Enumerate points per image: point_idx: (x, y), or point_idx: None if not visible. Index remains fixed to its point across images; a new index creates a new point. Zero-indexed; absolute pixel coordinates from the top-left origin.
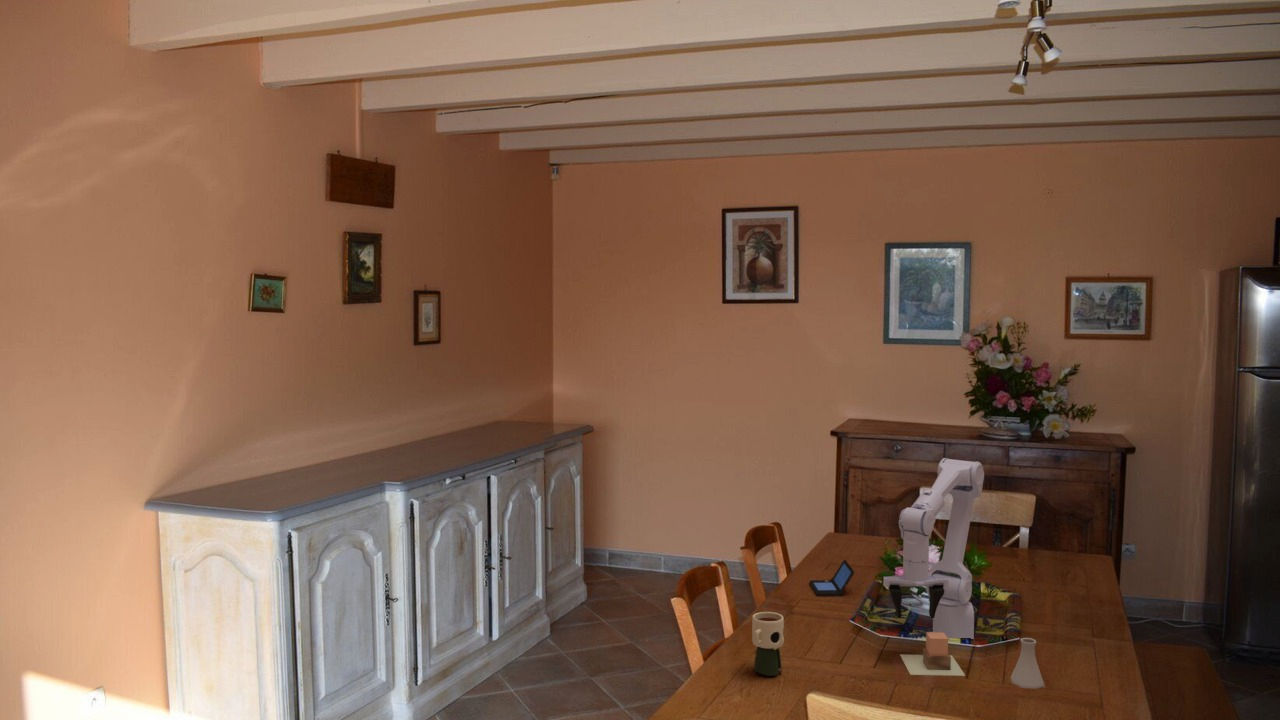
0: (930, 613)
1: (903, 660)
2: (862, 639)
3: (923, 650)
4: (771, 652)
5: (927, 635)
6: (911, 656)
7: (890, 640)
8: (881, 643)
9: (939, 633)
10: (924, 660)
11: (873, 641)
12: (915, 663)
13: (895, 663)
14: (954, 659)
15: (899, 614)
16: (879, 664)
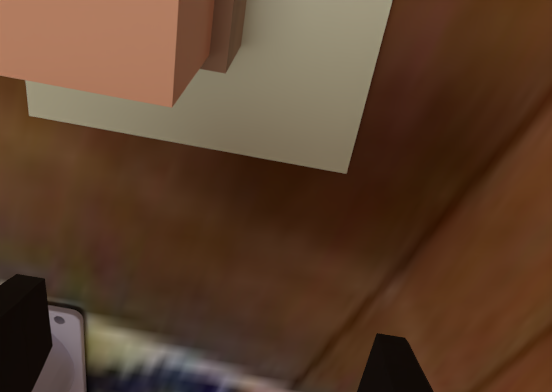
0: (32, 338)
1: (368, 77)
2: None
3: (228, 61)
4: None
5: (179, 40)
6: (286, 134)
7: (298, 358)
8: (359, 337)
9: (36, 52)
10: (242, 7)
11: None
12: (309, 11)
13: (422, 74)
14: None
15: (405, 362)
16: (539, 72)
